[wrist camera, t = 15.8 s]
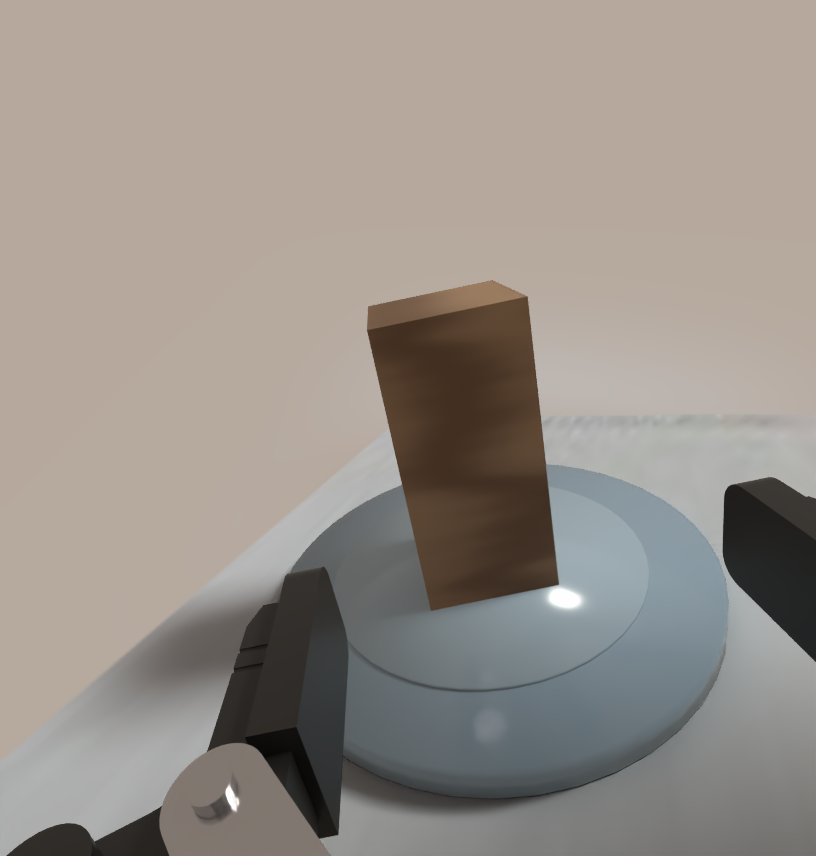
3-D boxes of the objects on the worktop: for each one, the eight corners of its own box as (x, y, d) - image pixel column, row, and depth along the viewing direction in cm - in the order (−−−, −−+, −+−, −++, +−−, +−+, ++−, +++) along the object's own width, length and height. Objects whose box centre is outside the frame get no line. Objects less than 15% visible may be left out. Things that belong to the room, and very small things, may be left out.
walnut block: (523, 516, 25) (492, 280, 21) (559, 584, 20) (527, 296, 16) (419, 538, 25) (368, 306, 21) (430, 610, 20) (367, 330, 16)
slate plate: (697, 483, 27) (698, 459, 26) (786, 888, 12) (791, 851, 11) (382, 480, 34) (378, 462, 34) (186, 727, 19) (172, 701, 18)
